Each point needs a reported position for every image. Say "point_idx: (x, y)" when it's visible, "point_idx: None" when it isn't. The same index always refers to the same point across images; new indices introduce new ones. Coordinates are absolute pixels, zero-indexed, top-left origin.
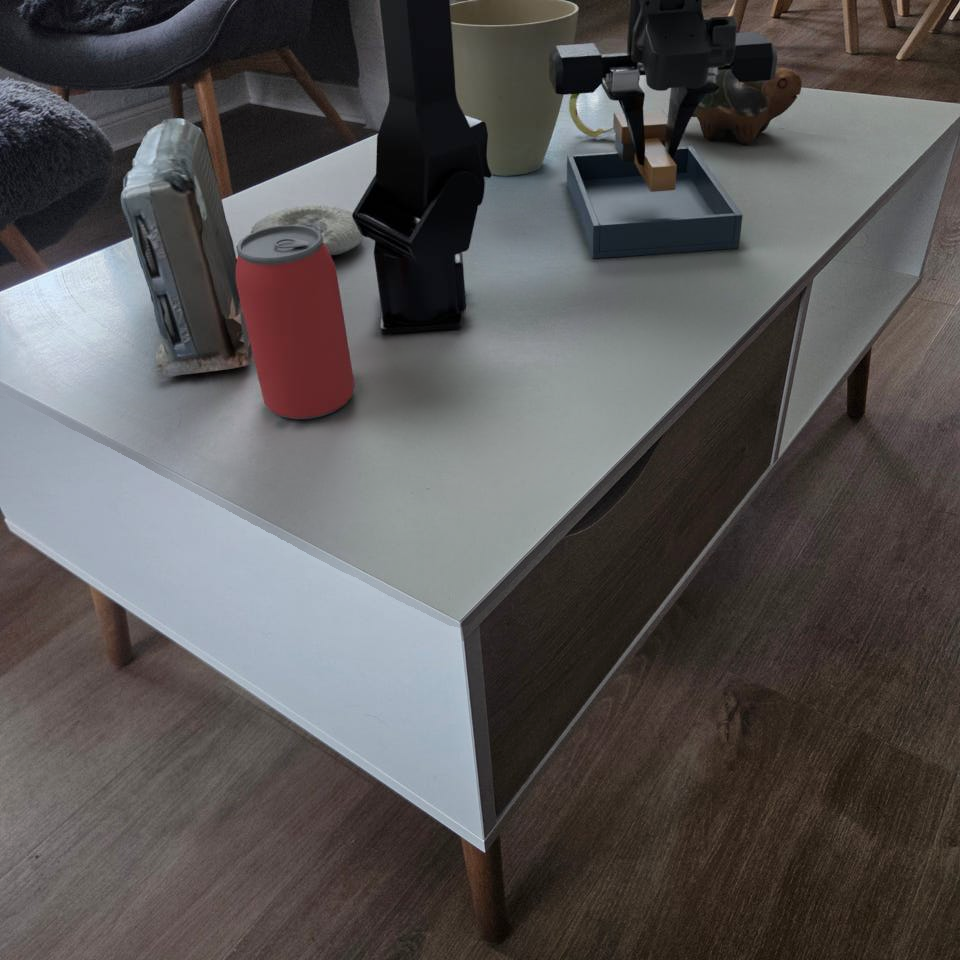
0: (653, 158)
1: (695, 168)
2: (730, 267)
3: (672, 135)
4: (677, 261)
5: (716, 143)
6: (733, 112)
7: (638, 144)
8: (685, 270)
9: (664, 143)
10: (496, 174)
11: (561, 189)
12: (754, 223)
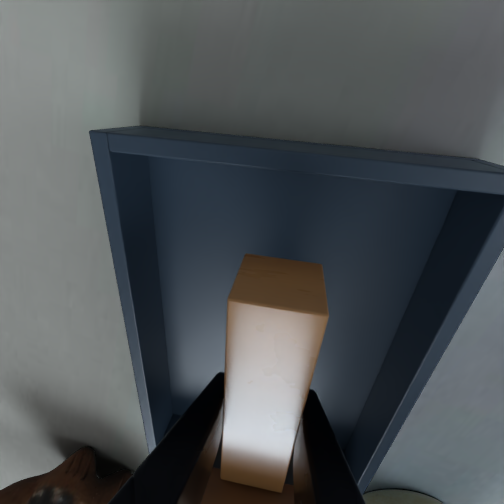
0: (287, 381)
1: (158, 403)
2: (173, 13)
3: (197, 457)
4: (286, 89)
5: (122, 461)
6: (77, 502)
7: (333, 458)
8: (286, 21)
9: None
10: (439, 501)
11: None
12: (98, 234)
